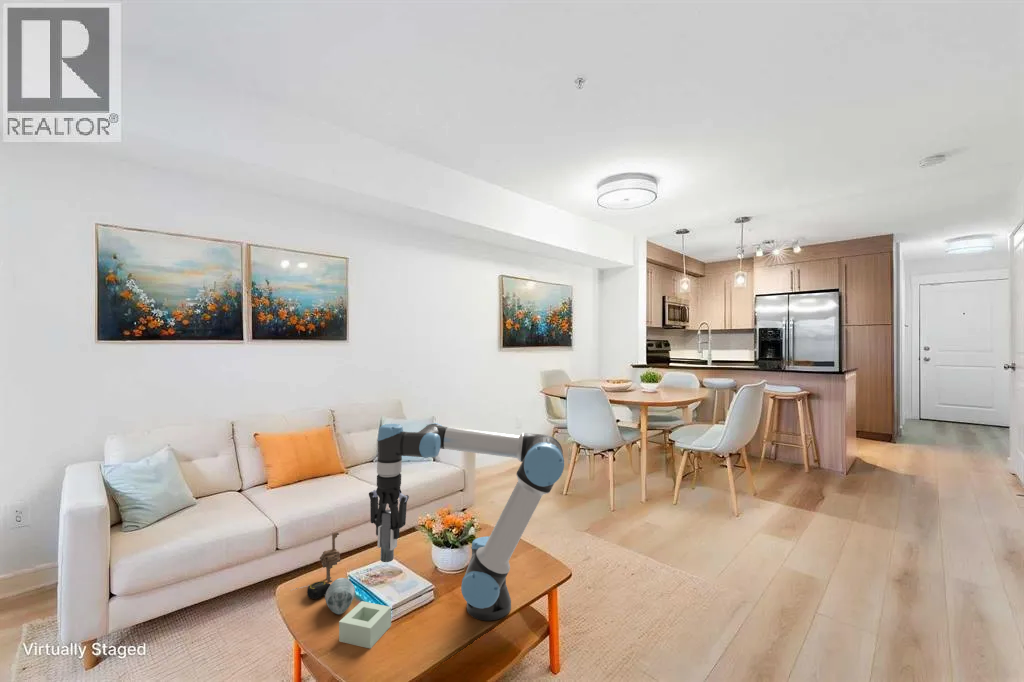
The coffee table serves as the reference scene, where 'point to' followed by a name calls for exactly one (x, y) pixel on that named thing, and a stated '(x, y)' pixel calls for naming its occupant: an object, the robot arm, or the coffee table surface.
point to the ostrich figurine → (330, 558)
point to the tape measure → (317, 589)
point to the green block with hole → (365, 624)
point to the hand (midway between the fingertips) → (387, 546)
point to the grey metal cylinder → (386, 537)
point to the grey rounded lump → (340, 595)
